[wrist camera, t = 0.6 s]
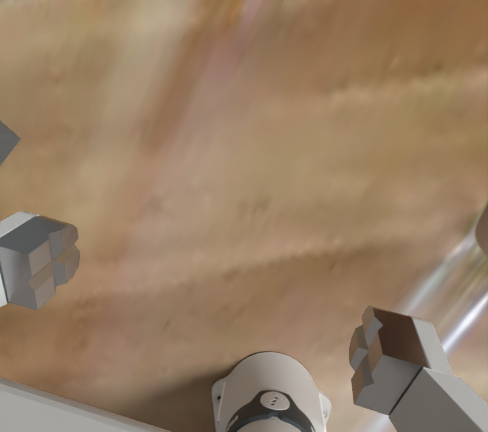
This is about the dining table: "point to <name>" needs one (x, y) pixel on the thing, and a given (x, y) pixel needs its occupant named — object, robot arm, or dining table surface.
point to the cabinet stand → (6, 141)
